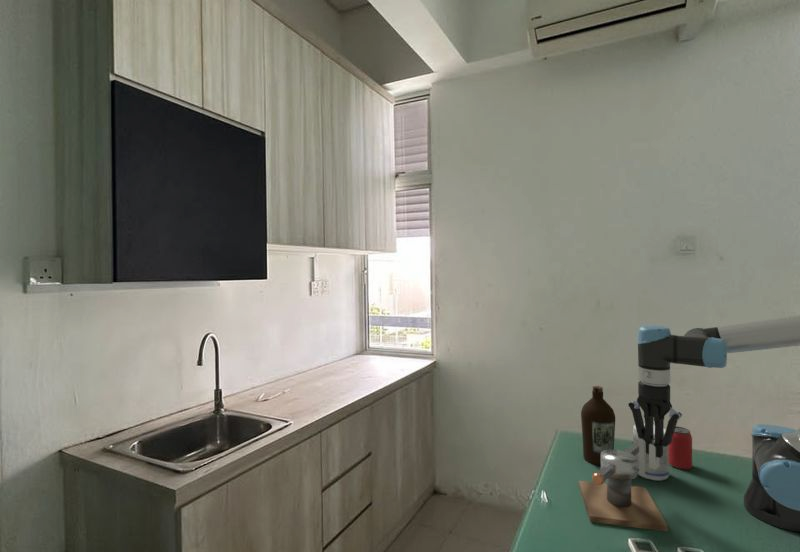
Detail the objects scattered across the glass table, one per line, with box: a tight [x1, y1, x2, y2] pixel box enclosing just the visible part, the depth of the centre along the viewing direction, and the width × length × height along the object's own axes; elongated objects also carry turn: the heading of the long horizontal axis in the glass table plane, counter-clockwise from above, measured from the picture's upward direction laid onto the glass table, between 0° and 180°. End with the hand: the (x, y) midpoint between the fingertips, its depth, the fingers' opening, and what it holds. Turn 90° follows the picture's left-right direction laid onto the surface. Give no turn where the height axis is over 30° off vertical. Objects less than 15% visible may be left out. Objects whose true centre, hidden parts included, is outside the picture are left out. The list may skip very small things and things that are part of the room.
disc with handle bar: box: [591, 443, 639, 485], centre depth 114 cm, size 27×9×4 cm, turn 131°
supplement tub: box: [632, 422, 670, 481], centre depth 131 cm, size 10×10×15 cm
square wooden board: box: [578, 476, 669, 532], centre depth 115 cm, size 18×18×10 cm
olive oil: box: [580, 385, 616, 466], centre depth 141 cm, size 11×11×25 cm
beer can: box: [668, 425, 693, 470], centre depth 136 cm, size 7×7×12 cm
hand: (654, 466), depth 114 cm, fingers closed
